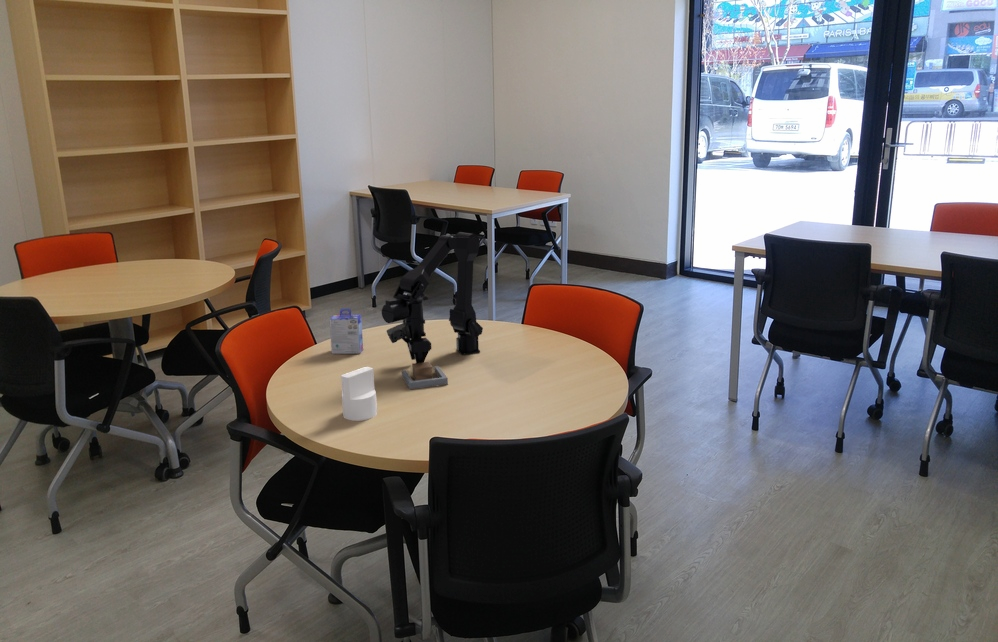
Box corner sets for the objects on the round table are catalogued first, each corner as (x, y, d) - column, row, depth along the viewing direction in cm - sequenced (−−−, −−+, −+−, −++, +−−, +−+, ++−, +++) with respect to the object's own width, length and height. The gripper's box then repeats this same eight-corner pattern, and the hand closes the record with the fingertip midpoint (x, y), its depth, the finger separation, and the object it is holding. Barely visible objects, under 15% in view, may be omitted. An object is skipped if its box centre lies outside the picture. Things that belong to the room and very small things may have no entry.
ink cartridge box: (364, 348, 256) (361, 307, 252) (361, 354, 251) (358, 312, 247) (335, 349, 256) (332, 307, 252) (331, 354, 251) (328, 312, 247)
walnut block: (428, 373, 232) (428, 361, 231) (432, 379, 227) (432, 366, 226) (412, 375, 231) (412, 363, 229) (416, 381, 226) (415, 368, 225)
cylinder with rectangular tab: (362, 404, 209) (359, 363, 206) (384, 412, 204) (381, 370, 201) (336, 415, 203) (332, 373, 199) (358, 423, 197) (355, 380, 194)
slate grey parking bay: (438, 371, 234) (438, 365, 233) (447, 384, 223) (447, 378, 223) (402, 376, 230) (401, 370, 230) (409, 389, 220) (409, 382, 219)
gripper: (382, 310, 238) (385, 357, 242) (393, 327, 221) (396, 377, 225) (417, 307, 241) (419, 353, 246) (430, 323, 224) (432, 372, 229)
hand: (416, 364), depth 236 cm, fingers open, 9 cm apart
